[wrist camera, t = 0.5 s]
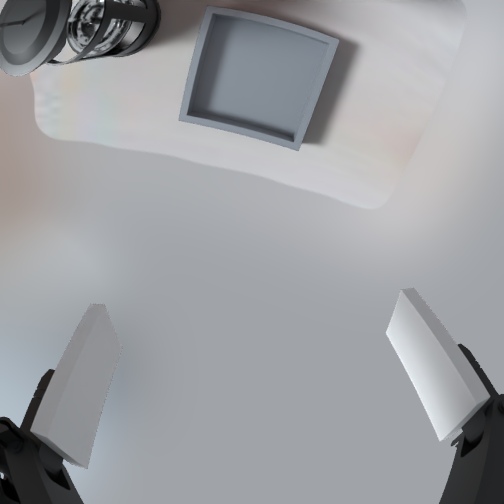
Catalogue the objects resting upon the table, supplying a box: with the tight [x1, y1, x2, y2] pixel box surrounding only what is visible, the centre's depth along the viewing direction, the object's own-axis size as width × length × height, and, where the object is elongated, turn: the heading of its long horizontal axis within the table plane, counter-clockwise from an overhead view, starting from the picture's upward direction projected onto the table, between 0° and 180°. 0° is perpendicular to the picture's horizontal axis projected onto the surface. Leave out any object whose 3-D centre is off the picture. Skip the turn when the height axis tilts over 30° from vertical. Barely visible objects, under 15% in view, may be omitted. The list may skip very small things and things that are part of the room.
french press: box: [0, 0, 161, 76], centre depth 13 cm, size 12×9×23 cm
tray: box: [178, 6, 339, 151], centre depth 25 cm, size 14×14×3 cm
